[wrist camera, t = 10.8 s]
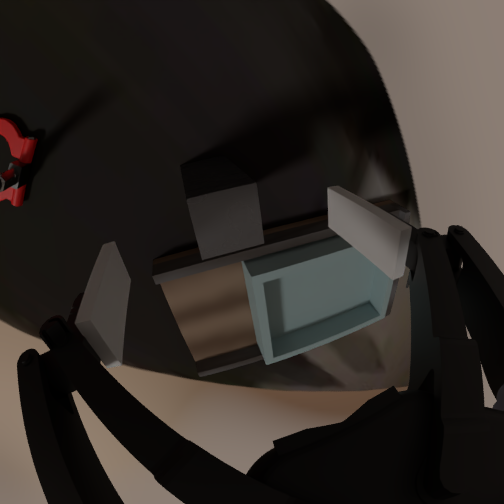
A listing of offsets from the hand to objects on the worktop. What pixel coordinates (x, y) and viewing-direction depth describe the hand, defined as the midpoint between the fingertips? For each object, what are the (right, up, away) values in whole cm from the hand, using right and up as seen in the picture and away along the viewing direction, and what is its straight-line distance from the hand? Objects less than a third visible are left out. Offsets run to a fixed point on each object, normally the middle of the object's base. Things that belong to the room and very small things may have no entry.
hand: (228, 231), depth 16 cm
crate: (+10, -5, +17) cm, 20 cm away
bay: (+6, -5, +18) cm, 20 cm away
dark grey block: (-3, +5, +9) cm, 11 cm away
